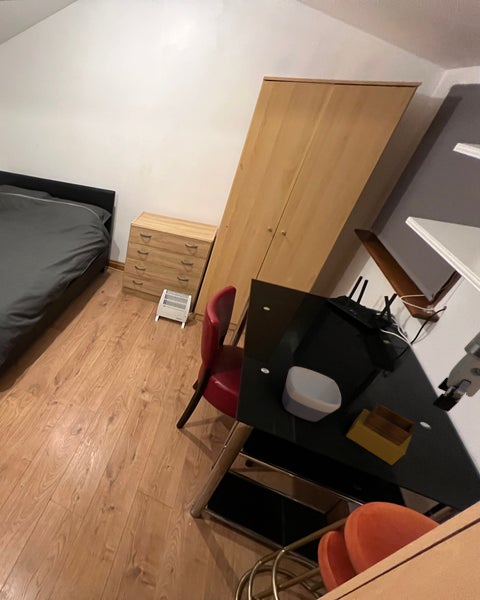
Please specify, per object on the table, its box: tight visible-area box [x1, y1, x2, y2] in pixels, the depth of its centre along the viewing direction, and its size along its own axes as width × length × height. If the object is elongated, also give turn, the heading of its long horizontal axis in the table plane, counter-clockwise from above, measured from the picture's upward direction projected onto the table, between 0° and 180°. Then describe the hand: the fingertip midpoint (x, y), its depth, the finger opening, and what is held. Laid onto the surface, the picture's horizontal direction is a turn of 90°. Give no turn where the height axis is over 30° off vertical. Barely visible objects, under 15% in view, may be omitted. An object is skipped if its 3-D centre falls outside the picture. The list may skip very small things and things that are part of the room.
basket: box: [363, 402, 416, 446], centre depth 97 cm, size 9×7×6 cm
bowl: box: [281, 365, 342, 423], centre depth 108 cm, size 15×15×11 cm
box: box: [345, 407, 413, 466], centre depth 100 cm, size 12×10×6 cm
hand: (442, 398), depth 88 cm, fingers open, 9 cm apart
